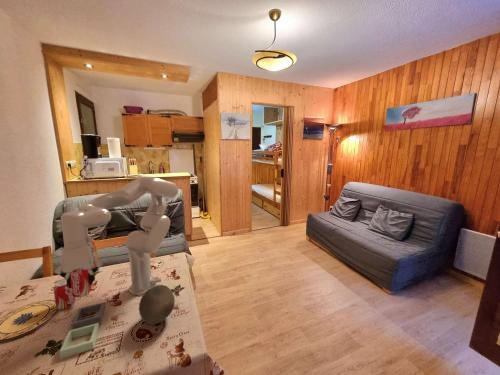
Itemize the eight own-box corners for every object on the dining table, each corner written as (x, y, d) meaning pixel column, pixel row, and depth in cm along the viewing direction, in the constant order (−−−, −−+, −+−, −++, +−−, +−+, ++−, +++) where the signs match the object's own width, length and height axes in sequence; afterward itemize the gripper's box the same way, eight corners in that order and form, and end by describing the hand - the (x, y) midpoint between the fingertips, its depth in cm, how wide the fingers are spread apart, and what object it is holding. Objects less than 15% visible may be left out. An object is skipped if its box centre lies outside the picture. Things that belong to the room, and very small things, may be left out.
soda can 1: (64, 312, 95) (61, 288, 93) (52, 309, 96) (48, 285, 94) (80, 301, 102) (76, 278, 100) (68, 299, 103) (64, 276, 101)
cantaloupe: (136, 337, 83) (133, 303, 80) (144, 311, 96) (141, 281, 94) (174, 329, 87) (172, 297, 84) (176, 305, 100) (175, 276, 98)
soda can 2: (94, 292, 87) (92, 265, 85) (75, 300, 82) (73, 272, 80) (87, 287, 90) (85, 260, 88) (69, 294, 85) (67, 267, 83)
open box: (105, 307, 98) (104, 302, 97) (93, 348, 78) (92, 341, 77) (79, 314, 94) (79, 308, 93) (60, 358, 74) (59, 351, 73)
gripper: (105, 236, 89) (108, 275, 92) (52, 242, 82) (58, 284, 85) (100, 243, 82) (105, 285, 85) (43, 250, 76) (50, 295, 79)
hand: (81, 284), depth 85 cm, fingers closed on soda can 2, 6 cm apart
